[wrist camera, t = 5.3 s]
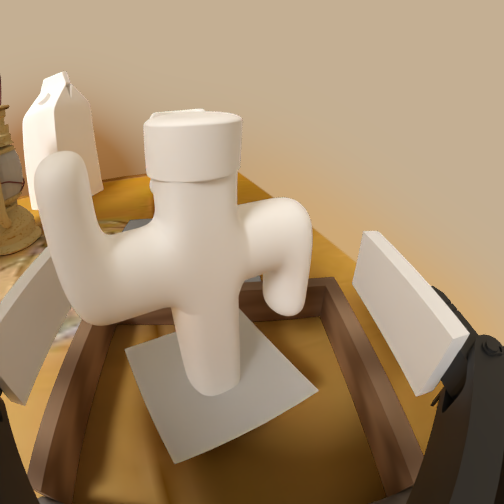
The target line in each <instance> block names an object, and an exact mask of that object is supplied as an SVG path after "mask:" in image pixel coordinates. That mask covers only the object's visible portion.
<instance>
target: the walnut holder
mask: <svg viewBox="0 0 504 504" xmlns="http://www.w3.org/2000/svg"><path fill="white" fill-rule="evenodd" d="M238 297H239V309H240V310H241V311H242V312H243V313H244V314H245V315H246V316H247V317H248V319H249V320H250V321H251V322H256V321H272V320H285V319H297V318H308V317H319V316H320V319H321V321H322V323H323V326H324V328H325V331H326V333H327V336H328V338H329V341H330V343H331V345H332V348H333V350H334V353H335V356H336V358H337V361H338V363H339V366H340V368H341V371H342V373H343V376H344V378H345V381H346V384H347V386H348V389H349V391H350V394H351V397H352V399H353V402H354V405H355V407H356V410H357V413H358V416H359V418H360V421H361V424H362V426H363V429H364V432H365V435H366V438H367V440H368V443H369V446H370V449H371V452H372V455H373V458H374V460H375V463H376V466H377V469H378V472H379V475H380V478H381V481H382V484H383V487H384V490H385V493H386V496H387V497H386V498H383V499H380V500H378V501H375V502H372V503H369V504H406V502H407V500H408V498H409V495H410V493H411V491H412V488H413V486H414V483H415V480H416V478H417V475H418V472H419V469H420V467H421V464H422V461H423V458H424V456H423V453H422V451H421V449H420V446H419V444H418V442H417V439H416V437H415V435H414V433H413V430H412V428H411V426H410V424H409V421H408V419H407V417H406V415H405V413H404V411H403V408H402V406H401V404H400V402H399V400H398V398H397V396H396V394H395V391H394V389H393V387H392V385H391V383H390V381H389V379H388V377H387V375H386V373H385V371H384V369H383V367H382V365H381V363H380V361H379V359H378V357H377V355H376V353H375V351H374V349H373V347H372V346H371V344H370V342H369V340H368V338H367V336H366V334H365V332H364V330H363V329H362V327H361V325H360V323H359V321H358V319H357V317H356V316H355V314H354V312H353V310H352V308H351V306H350V305H349V303H348V301H347V299H346V297H345V296H344V294H343V292H342V290H341V289H340V287H339V285H338V283H337V282H336V280H335V278H334V277H326V278H311V279H308V285H307V292H306V299H305V304H304V306H303V309H302V310H301V311H300V312H299V313H298V314H296V315H294V316H284V315H280V314H278V313H276V312H275V311H273V310H272V309H271V308H270V307H269V306H268V304H267V303H266V301H265V299H264V296H263V281H258V282H244V283H243V285H242V287H241V290H240V293H239V296H238ZM117 324H142V325H173V324H174V320H173V315H172V310H171V307H167V308H162V309H158V310H155V311H152V312H149V313H146V314H143V315H140V316H137V317H133V318H130V319H127V320H124V321H121V322H118V323H114V324H110V325H104V326H96V325H92V324H89V323H87V322H85V321H84V320H83V319H82V321H81V323H80V325H79V327H78V329H77V331H76V334H75V336H74V338H73V340H72V343H71V345H70V347H69V349H68V352H67V354H66V356H65V359H64V361H63V364H62V366H61V369H60V371H59V374H58V376H57V379H56V381H55V384H54V387H53V389H52V392H51V395H50V397H49V400H48V403H47V406H46V409H45V412H44V415H43V418H42V421H41V424H40V428H39V431H38V434H37V438H36V441H35V445H34V449H33V452H32V456H31V460H30V464H29V469H28V473H27V476H28V479H29V481H30V484H31V486H32V488H33V490H35V491H36V492H38V493H40V494H42V495H44V496H42V497H40V498H38V501H39V503H40V504H72V501H73V494H74V487H75V481H76V474H77V469H78V463H79V458H80V453H81V448H82V443H83V439H84V434H85V430H86V426H87V421H88V417H89V413H90V409H91V406H92V402H93V398H94V394H95V391H96V387H97V384H98V380H99V377H100V374H101V370H102V367H103V364H104V361H105V358H106V354H107V351H108V348H109V345H110V342H111V339H112V336H113V333H114V331H115V328H116V325H117ZM45 496H46V497H45Z"/></svg>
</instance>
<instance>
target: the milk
mask: <svg viewBox="0 0 504 504" xmlns="http://www.w3.org/2000/svg"><path fill="white" fill-rule="evenodd" d="M23 144H24V156H25V166H26V174H27V182H28V189H29V195H30V201H31V206H32V210H38V206H37V202H36V196H35V189H34V176H35V171H36V169H37V167H38V165H39V163H40V162H41V161H42V160H43V159H44V158H46V157H47V156H49V155H51V154H53V153H56V152H60V151H72V152H75V153H77V154H78V155H80V156H81V158H82V159H83V161H84V163H85V166H86V169H87V172H88V177H89V183H90V189H91V195H92V196H93V195H95V194H97V193H98V192H100V191H102V190H104V188H103V183H102V179H101V173H100V168H99V162H98V157H97V150H96V144H95V137H94V131H93V122H92V114H91V106H90V103H89V101H88V100H87V99H86V98H85V97H84V96H83V94H82V93H80V92H79V91H78V90H77V89H76V88H75V87H74V86H73V85H72V84H71V82H70V79H69V77H68V74H67V72H60V73H57V74H55V75H53V76H50V77H49V78H46V79H44V80H43V85H42V88H41V94H40V95H39V96H38V97H37V99H36V100H35V102H34V103H33V104H32V106H31V107H30V109H29V110H28V111H27V113H26V115H25V117H24V119H23Z"/></svg>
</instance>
